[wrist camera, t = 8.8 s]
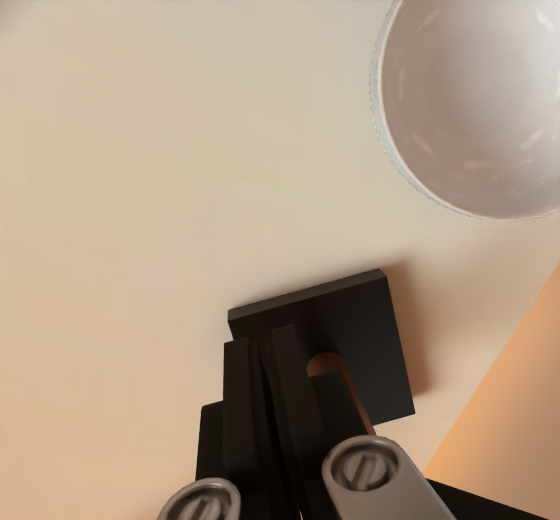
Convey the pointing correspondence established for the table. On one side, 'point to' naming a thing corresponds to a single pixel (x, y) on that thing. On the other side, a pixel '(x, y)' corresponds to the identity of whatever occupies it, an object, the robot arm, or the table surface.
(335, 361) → the towel holder
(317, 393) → the robot arm
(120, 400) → the table surface
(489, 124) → the cereal bowl
